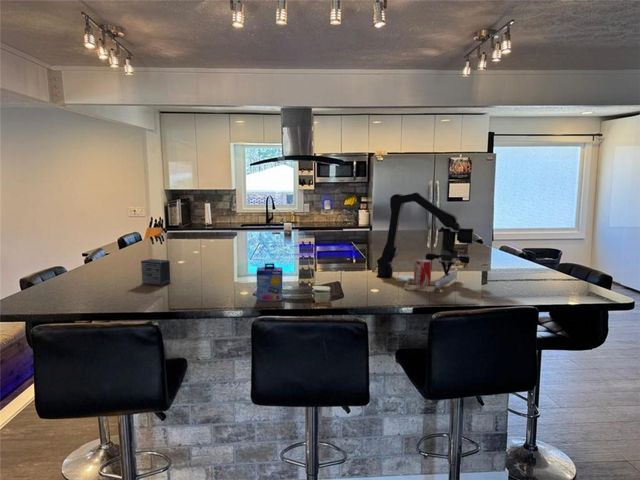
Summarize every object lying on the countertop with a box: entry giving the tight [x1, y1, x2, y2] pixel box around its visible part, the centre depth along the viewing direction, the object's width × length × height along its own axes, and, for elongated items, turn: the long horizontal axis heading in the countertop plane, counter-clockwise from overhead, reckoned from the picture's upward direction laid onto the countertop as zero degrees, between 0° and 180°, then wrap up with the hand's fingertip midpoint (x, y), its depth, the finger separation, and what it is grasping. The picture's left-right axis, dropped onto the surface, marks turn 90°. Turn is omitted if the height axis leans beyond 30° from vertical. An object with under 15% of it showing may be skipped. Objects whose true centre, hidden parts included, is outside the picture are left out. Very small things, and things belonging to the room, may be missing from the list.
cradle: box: [403, 278, 441, 294], centre depth 186 cm, size 15×14×2 cm
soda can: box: [413, 258, 432, 287], centre depth 185 cm, size 7×7×12 cm
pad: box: [395, 274, 414, 282], centre depth 201 cm, size 11×11×1 cm
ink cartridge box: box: [256, 262, 283, 302], centre depth 165 cm, size 10×6×14 cm, turn 95°
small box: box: [140, 258, 171, 287], centre depth 186 cm, size 11×6×10 cm, turn 71°
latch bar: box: [434, 269, 458, 290], centre depth 187 cm, size 2×26×4 cm, turn 146°
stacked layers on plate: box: [311, 285, 331, 304], centre depth 164 cm, size 10×9×6 cm
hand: (446, 276), depth 194 cm, fingers closed
